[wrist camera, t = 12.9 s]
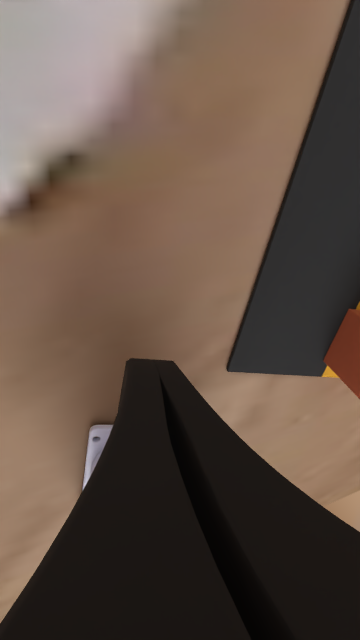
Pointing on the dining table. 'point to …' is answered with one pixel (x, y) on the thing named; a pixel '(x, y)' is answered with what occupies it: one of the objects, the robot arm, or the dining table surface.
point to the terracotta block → (347, 351)
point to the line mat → (312, 235)
